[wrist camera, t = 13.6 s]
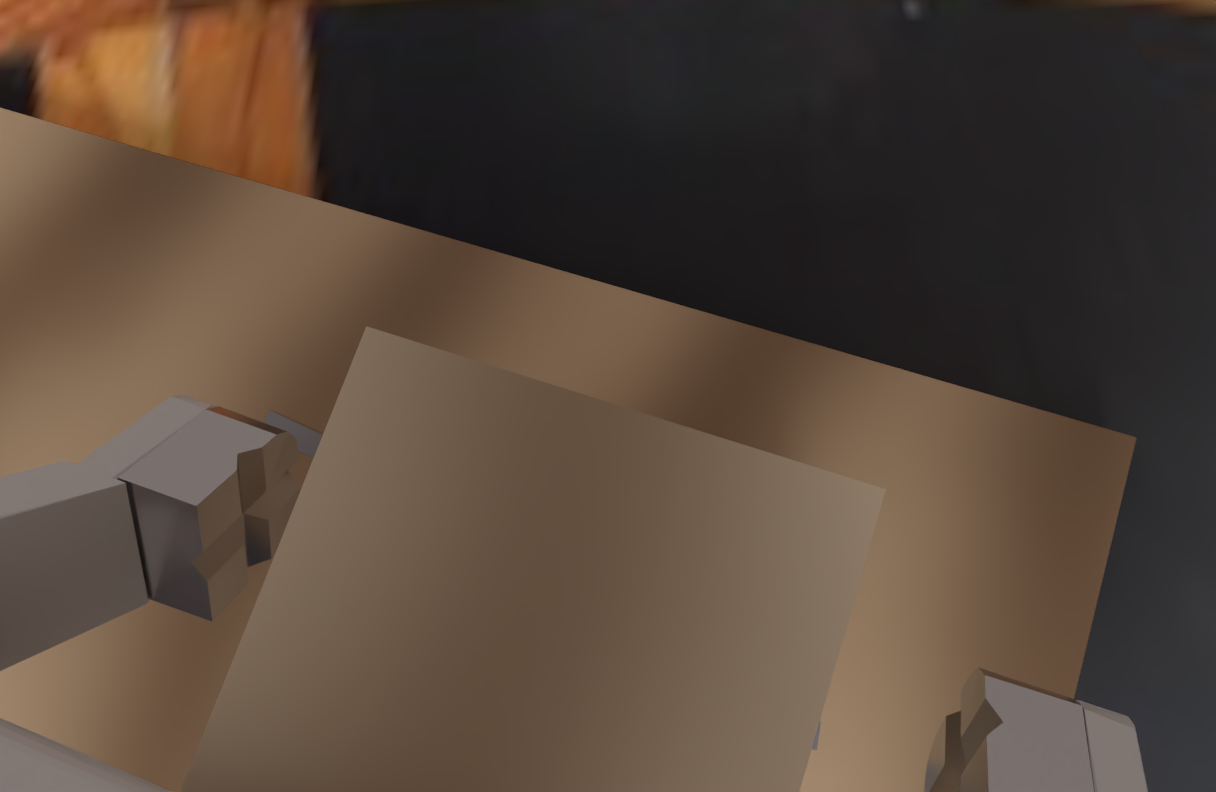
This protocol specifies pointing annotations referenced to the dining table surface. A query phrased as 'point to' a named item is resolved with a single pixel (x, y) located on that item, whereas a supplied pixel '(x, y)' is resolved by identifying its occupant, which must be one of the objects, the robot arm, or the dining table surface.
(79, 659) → the oak board
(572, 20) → the dining table surface
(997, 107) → the dining table surface
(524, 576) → the block
